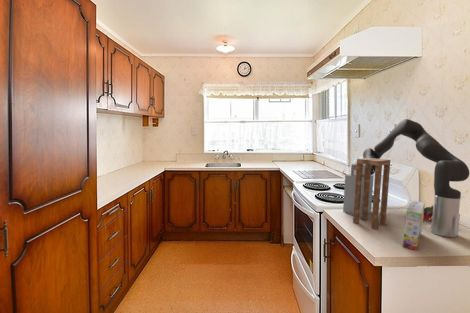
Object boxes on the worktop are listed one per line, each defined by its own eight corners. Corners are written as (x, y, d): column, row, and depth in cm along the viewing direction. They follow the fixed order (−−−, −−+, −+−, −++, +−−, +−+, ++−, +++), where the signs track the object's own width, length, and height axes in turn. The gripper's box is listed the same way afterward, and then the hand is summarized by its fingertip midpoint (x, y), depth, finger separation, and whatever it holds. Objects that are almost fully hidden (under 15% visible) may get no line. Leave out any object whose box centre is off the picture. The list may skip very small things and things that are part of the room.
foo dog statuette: (430, 230, 141) (443, 217, 132) (410, 218, 146) (421, 206, 137) (435, 219, 145) (447, 207, 136) (415, 208, 150) (426, 196, 141)
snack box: (418, 251, 106) (422, 213, 104) (402, 247, 109) (405, 210, 108) (422, 234, 123) (425, 201, 121) (407, 231, 126) (410, 199, 125)
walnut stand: (385, 224, 135) (390, 159, 131) (375, 229, 128) (380, 161, 125) (363, 218, 143) (367, 157, 140) (353, 222, 137) (357, 158, 133)
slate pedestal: (371, 212, 155) (373, 175, 152) (360, 216, 147) (362, 177, 145) (354, 207, 162) (356, 172, 160) (343, 211, 155) (345, 174, 153)
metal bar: (373, 172, 160) (374, 162, 160) (362, 176, 148) (362, 165, 147) (362, 171, 164) (363, 161, 164) (350, 175, 152) (351, 164, 151)
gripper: (357, 172, 175) (353, 185, 163) (369, 155, 167) (366, 167, 154) (368, 178, 173) (366, 191, 161) (381, 160, 165) (379, 173, 152)
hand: (366, 179), depth 158 cm, fingers open, 8 cm apart
